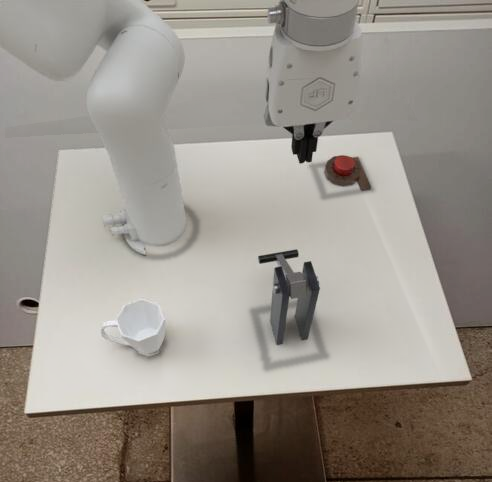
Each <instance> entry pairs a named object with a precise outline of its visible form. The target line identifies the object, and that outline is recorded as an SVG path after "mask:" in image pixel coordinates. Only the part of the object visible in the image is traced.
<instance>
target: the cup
mask: <svg viewBox="0 0 492 482" xmlns="http://www.w3.org/2000/svg"><path fill="white" fill-rule="evenodd" d="M100 326H101V327H100V334H101V337H102V338H103V339H105V340H106V341H109V342H111V343H115V344H119V345H123V346H128V347H132V348H133V349H135V350H136V351H138V354H140V355H143V356H145V357H148V358H150V357H152V356H155V355H157V354H160V352H161V346H162V344H163V342H164V341H165V336H166V318H165V314H164V313H163V310H162V307H161V305H160V303H158V302H155V301H153V300H149V299H146V298H144V297H141V298H139V299H136V300H133V301H130V302H127V303H125V304H123V306H122V308H121V309H120V311H119V313H118V315H117V317H116V318H115V319H114V320H106V321H104V322H103V323H101V325H100ZM108 327H112V328H113V327H114V328H118V330H119V333H120V336H121V337H122V338H120V337H116V336H113V335H111V334H108V333H107V332H106V331H105V329H106V328H108Z"/></svg>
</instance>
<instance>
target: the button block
mask: <svg viewBox="0 0 492 482" xmlns="http://www.w3.org/2000/svg"><path fill="white" fill-rule="evenodd" d="M343 155H344V154H341V155H334V156H333V157H331V158H329V159H327V161H326V164H325V167H324V171H323V172H324V175H325V178H326V180H327V181H328V182H330V183H331V184H333V185H335V186H339V187H349V186H353V185H354V184H355V183H357V185H358V187H359V188H358V189H359V190H360V191H361V192H364V191H365V192H366V191H371V189H372V185H371V182H370V181H369V178H368V176H367V174H366V172H365V169H364V167H363V165H362V163H361V161H360V158H359V156H355V157H352V156H350V157H351V158H352V159H353V160H354V162H355V164H354V168H353V172H352V174H351V175H349V176H345V177H343V176H339V175H337V174H336V173H335V172H334V169H333V168H334V163H335V160H336V158H337V157H339V156H343Z"/></svg>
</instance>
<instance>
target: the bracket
mask: <svg viewBox="0 0 492 482" xmlns="http://www.w3.org/2000/svg"><path fill="white" fill-rule="evenodd" d="M273 269H274V270H273V281H272V293H271V305H270V316H269V317H270V318H269V322H270V327H271V330H272V334H273V338H274V341H275V345H276V346H278V345H283V343H284V336H285V330H286V325H287V324H286V323H287V318H288V317H287V316H288V308H289V304H290V303H289V302H290V292H289V289H288V286H287V282H286V279H285V276H284V272H283V269H282V266H280V267H279V266H276V267H274V268H273ZM301 271H302V272H301V273H302V275H303V276H304V278H305V279H306V285H307V296H305V297H300V298H297V300H296V306H295V312H294V319H295V323H296V326H297V330H298V333H299V335H300V340H301V341H305V340H308V339H309V336H310V332H311V327H312V323H313V319H314V315H315V311H316V306H317V303H318V298H319V295H320V289H321V286H320V280H319V277H318V275H316V271H315V269H314V266H313V262H312V261H311V260H309V261H304V262H303V266H302V270H301Z"/></svg>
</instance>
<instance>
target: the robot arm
mask: <svg viewBox="0 0 492 482" xmlns="http://www.w3.org/2000/svg"><path fill="white" fill-rule="evenodd" d="M359 3H360V0H280V1H278V5H275V6H274V7H268V8H267V11H266V13H267V14H266V15H267V23H268V24H275V27H274V31H273V34H272V39H271V44H270V48H269V55H268V60H267V68H266V77H265V101H266V107H265V111H264V113H263V120H264V124H265V125H266V126H267V127H275V128H276V127H277V128H280V127H281V128H283V129H285V130H286V131H287V132H288V133H290V134H291V152H292V155H293V156H295V155H296V157H297V161H298V163H299V164H300V165H301V164H305V162H307V163H308V164H309V163H312V162H313V156H314V153H316V152H317V149H318V148H317V147H318V143H319V142H318V141H319V138H320V137H322V135H323V133H324V131H325V129H326V128H328V126H330V125H331V124H332V123H333V122H335V121H340V120H344V119H346V118H349V117H350V116H352V114H353V113H354V112H355V109H356V105H357V100H358V96H359V95H358V94H359V86H360V77H361V67H362V66H361V65H362V48H363V47H362V45H363V43H362V42H363V39H362V37H363V36H362V28H361V26H360V25H359V24H358V22H357V20H356V19H357V13H358V7H359ZM97 46H98V47H99V48H101V49H102V50H103V51H105V54H104V55H103V57H102V59H101V60H100V62H99V64H98V65H97V67H96V69H95V71H94V72H93V74H92V76H91V79H90V81H89V83H88V87H87V90H86V97H85V106H86V107H85V108H86V111H87V114H88V118H89V119H90V121H91V123H92V125H93V126H94V128H95V130H96V132H97V133H98V135H99V137H100V138H101V140H102V142H103V144H104V145H103V146H104V147H105V149H106V152H107V155H108V158H109V161H110V164H111V167H112V170H113V173H114V175H115V179H116V182H117V185H118V188H119V192H120V195H121V198H122V202H123V204H124V210H120V211H119V213H115V214H113V213H111V214H104V215H102V216H101V219H102V224H103V227H104V228H105V227H110V233H111V235H112V236H118V235H121V234H123V235H124V238H125V240H126V242H127V244H128V245H129V246H130V248H131V249H133V250H134V251H135V252H137V253H139V254H141V255H143V256H147V251H146V245H147V246H151V247H163V246H167V245H170V244H172V243H175V242H176V241H177V240H179V239H180V238H181V237H182V235H183V234H184V232H185V231H186V228H187V216H186V210H185V205H184V198H183V193H182V192H183V191H182V185H181V180H180V173H179V168H178V161H177V155H176V150H175V145H174V141H173V138H172V136H171V133H169V131H168V130H167V129H166V126H165V114H166V110H167V107H168V105H169V104H170V101H171V99H172V95H173V93H174V91H175V89H176V87H177V85H178V83H179V80H180V77H181V76H182V73H183V70H184V67H185V58H186V57H185V50H184V47H183V44H182V41H181V40H180V38H179V36H178V35H177V34H176V31H174V30H173V28H172V27H171V26H170V25H169V24H168V23H167V22H166V21H165V20H164V19H163V18H162V17H160V16H159V15H158V14H157V13H156V12H155V11H154V10H153V9H151V8H150V7H149V6H148V5H146V4H145V3H144V2H143V1H141V0H0V47H1V48H2V49H3V50H4V51H6V52H7V53H9V54H11V55H12V56H13V57H15V58H16V59H18V60H19V61H21V62H22V63H23V64H25V65H26V66H27V67H30V68H31V69H32V70H34V71H35V72H37V73H38V74H40V75H42V76H44V77H46V78H47V79H49V80H52V81H55V82H67V81H70V80H72V79H73V78H74V77H76V76H77V75H78V73H79V72H81V70H82V68H83V67H84V66H85V65H86V63H87V62H88V61H89V59H90V57H91V55H92V54H93V53H94V51H95V49H96V48H97ZM121 224H122V225H121ZM115 225H119V226H115Z"/></svg>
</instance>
